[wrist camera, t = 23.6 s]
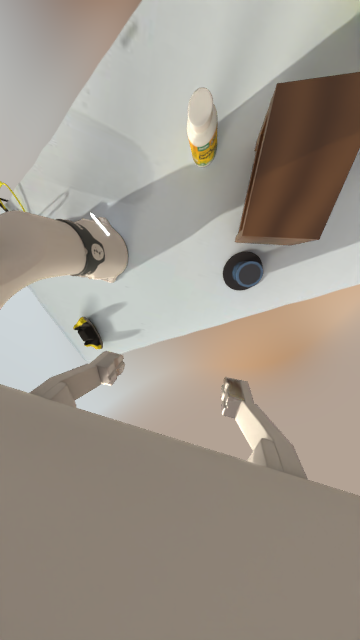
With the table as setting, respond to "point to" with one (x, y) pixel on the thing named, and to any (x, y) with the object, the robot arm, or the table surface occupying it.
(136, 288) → the table surface
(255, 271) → the cup
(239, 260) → the coaster
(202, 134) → the supplement bottle
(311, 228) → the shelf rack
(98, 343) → the gaming controller
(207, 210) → the table surface
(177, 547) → the robot arm
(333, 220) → the table surface
